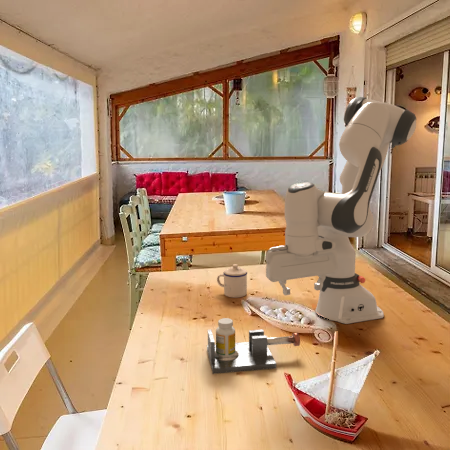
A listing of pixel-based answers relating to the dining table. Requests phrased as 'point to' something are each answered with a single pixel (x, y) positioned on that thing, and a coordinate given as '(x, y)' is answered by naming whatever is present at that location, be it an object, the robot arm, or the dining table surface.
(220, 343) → the supplement bottle
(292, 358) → the dining table surface
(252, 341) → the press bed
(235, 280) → the teacup with lid
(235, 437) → the dining table surface
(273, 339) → the ram
